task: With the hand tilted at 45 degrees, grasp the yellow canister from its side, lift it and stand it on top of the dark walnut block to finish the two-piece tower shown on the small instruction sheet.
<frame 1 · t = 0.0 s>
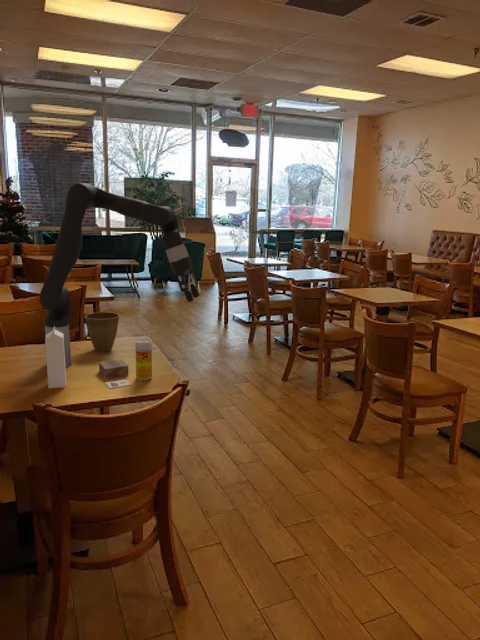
hand: (193, 299, 191), 31 cm above the table, tool tilted 20°, fingers open, 8 cm apart
plant pot: (103, 349, 230), on the table
instruction sheet: (117, 384, 189), on the table
base brick: (113, 373, 200), on the table
milk: (57, 385, 187), on the table
yellow canister: (144, 378, 196), on the table
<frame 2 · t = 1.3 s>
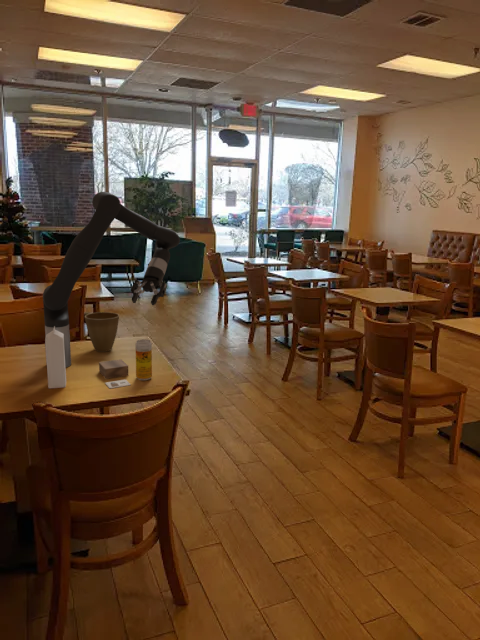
hand: (142, 303, 204), 27 cm above the table, tool tilted 45°, fingers open, 8 cm apart
nothing on the table moved.
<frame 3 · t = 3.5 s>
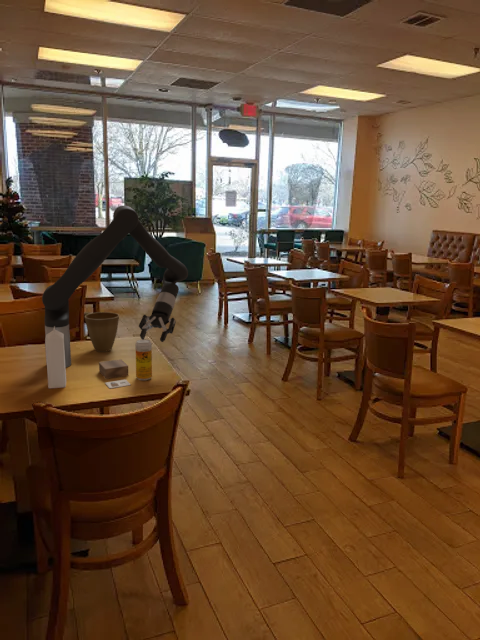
hand: (151, 339, 199), 14 cm above the table, tool tilted 45°, fingers open, 8 cm apart
nothing on the table moved.
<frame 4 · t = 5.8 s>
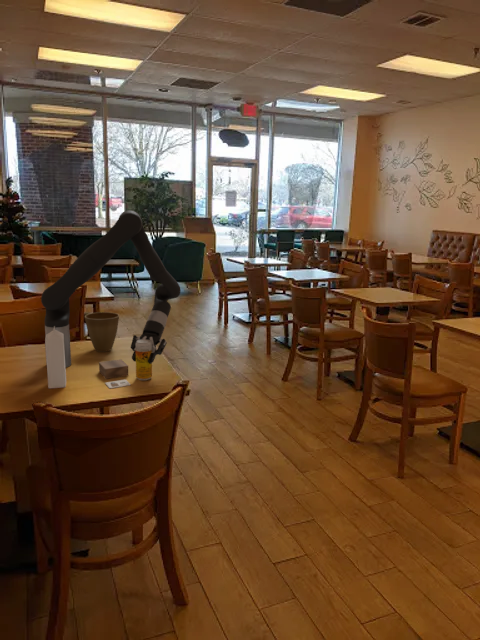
hand: (141, 361, 193), 7 cm above the table, tool tilted 45°, fingers closed on yellow canister, 6 cm apart
yellow canister: (144, 378, 196), on the table, touching gripper
everything else where it was.
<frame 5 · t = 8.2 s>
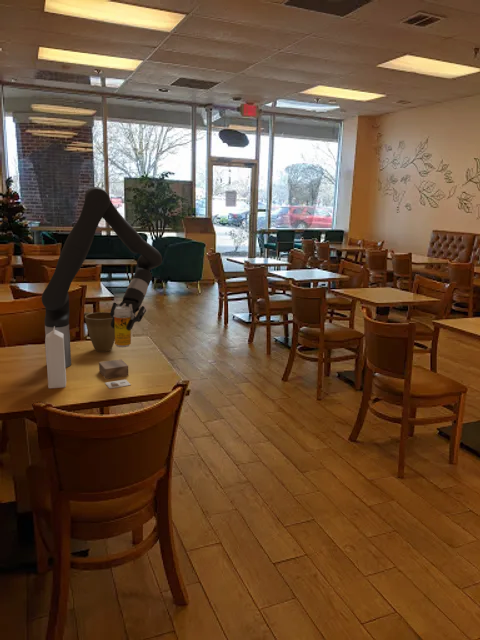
hand: (120, 328, 192), 20 cm above the table, tool tilted 45°, fingers closed on yellow canister, 6 cm apart
yellow canister: (122, 345, 196), point 12 cm above the table, touching gripper
everything else where it was.
when the fingers open (13 cm above the table, at t = 10.5 s): yellow canister drops 1 cm, resting on base brick.
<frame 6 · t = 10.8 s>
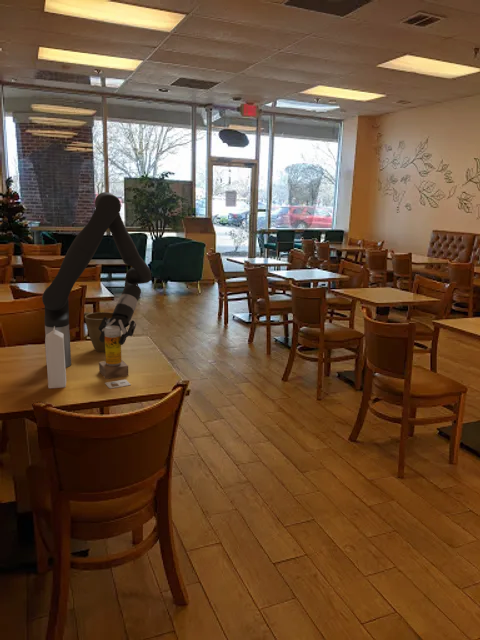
hand: (110, 342, 196), 13 cm above the table, tool tilted 45°, fingers open, 8 cm apart
yellow canister: (113, 364, 200), point 4 cm above the table, touching base brick
everything else where it was.
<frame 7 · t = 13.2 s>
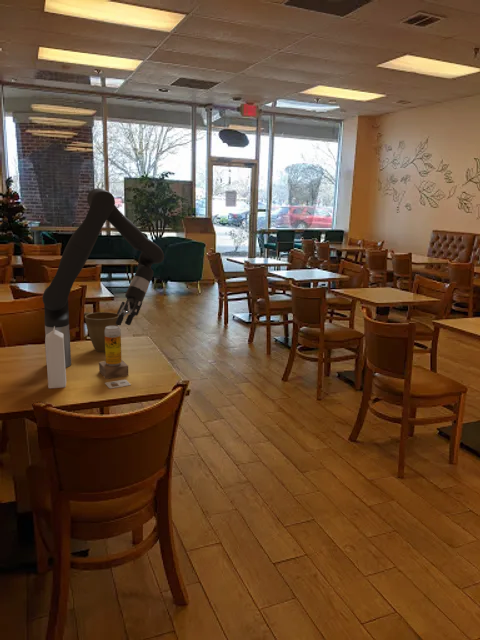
hand: (122, 324, 206), 18 cm above the table, tool tilted 35°, fingers open, 8 cm apart
nothing on the table moved.
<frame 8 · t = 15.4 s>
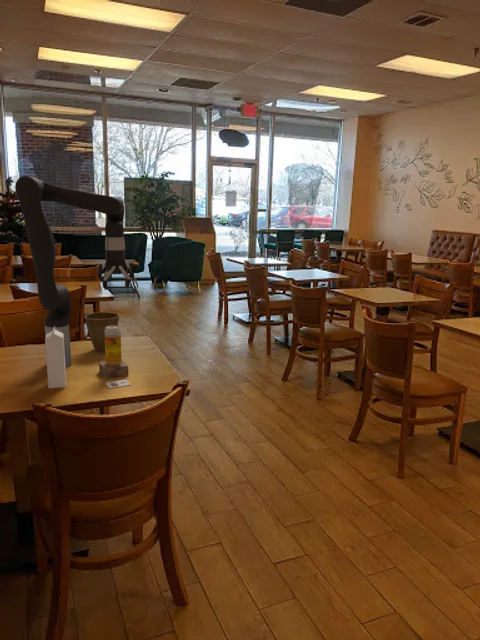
hand: (116, 288, 203), 32 cm above the table, tool pointing down, fingers open, 8 cm apart
nothing on the table moved.
at the end: yellow canister inside the target area on the base brick (0.2 cm from its centre), point 3.8 cm above the base brick's base; yellow canister tilted 0°; the gripper is holding nothing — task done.
